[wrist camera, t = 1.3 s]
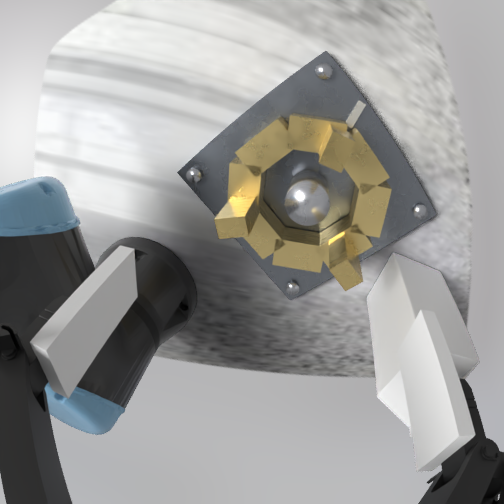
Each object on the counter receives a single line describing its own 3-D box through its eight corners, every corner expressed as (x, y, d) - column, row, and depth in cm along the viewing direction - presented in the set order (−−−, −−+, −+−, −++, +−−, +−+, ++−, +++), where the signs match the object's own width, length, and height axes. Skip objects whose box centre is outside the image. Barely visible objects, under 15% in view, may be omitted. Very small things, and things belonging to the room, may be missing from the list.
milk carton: (365, 297, 38) (377, 433, 22) (392, 250, 34) (431, 384, 18) (411, 313, 38) (439, 441, 21) (440, 270, 34) (492, 396, 18)
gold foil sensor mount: (294, 277, 37) (286, 323, 30) (207, 176, 33) (176, 202, 26) (408, 208, 30) (429, 244, 23) (322, 85, 26) (323, 83, 19)
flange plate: (291, 295, 40) (286, 324, 35) (180, 170, 35) (158, 185, 30) (433, 211, 31) (450, 232, 26) (325, 51, 26) (327, 44, 21)
